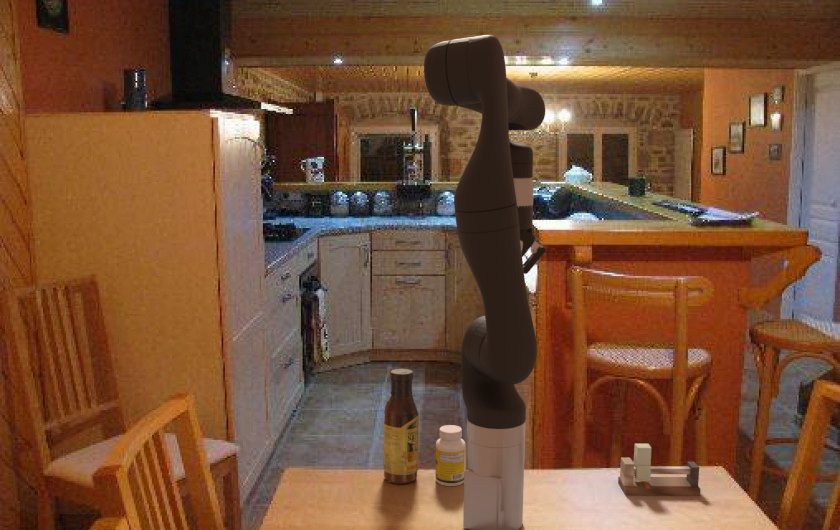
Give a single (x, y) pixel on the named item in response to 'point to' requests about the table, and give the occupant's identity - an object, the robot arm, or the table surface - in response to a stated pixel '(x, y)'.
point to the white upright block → (642, 461)
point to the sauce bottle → (401, 430)
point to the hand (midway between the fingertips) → (509, 295)
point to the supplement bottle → (450, 456)
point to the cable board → (659, 480)
